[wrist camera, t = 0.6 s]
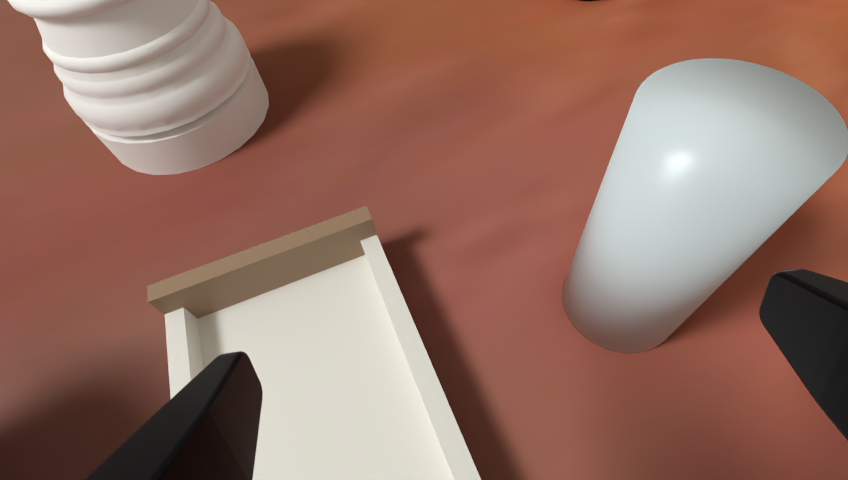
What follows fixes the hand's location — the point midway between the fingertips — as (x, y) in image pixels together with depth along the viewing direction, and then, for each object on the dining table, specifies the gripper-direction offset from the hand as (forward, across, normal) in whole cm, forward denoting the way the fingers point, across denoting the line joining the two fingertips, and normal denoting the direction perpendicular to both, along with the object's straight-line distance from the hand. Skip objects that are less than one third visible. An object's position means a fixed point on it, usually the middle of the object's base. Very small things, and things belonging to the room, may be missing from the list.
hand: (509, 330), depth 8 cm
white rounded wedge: (+13, -9, +11) cm, 19 cm away
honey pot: (+32, +19, +2) cm, 38 cm away
